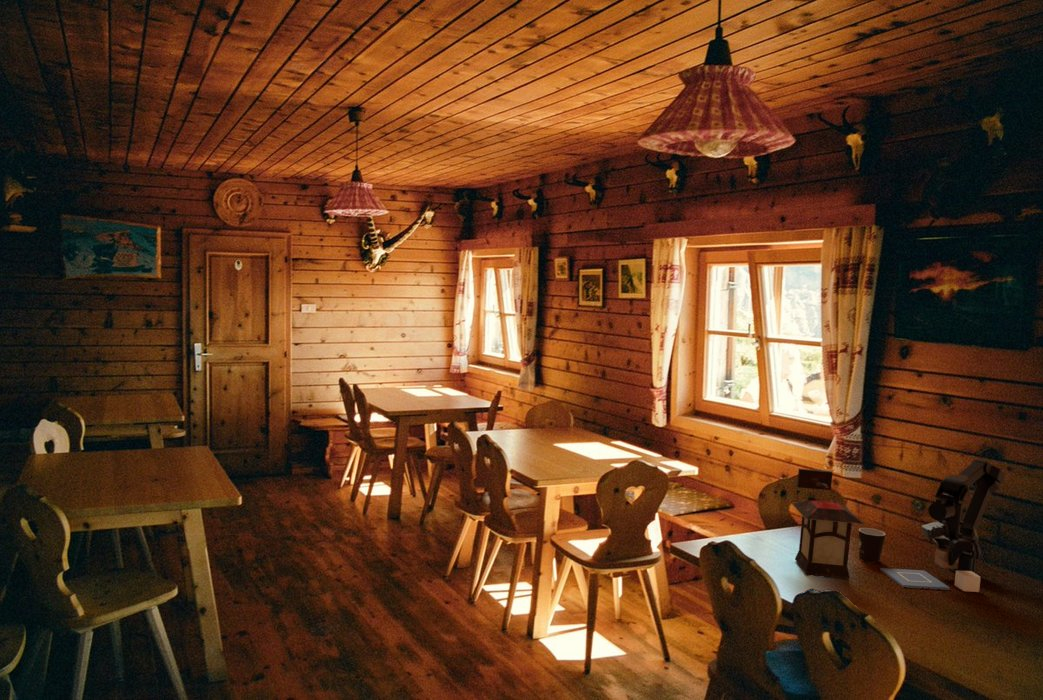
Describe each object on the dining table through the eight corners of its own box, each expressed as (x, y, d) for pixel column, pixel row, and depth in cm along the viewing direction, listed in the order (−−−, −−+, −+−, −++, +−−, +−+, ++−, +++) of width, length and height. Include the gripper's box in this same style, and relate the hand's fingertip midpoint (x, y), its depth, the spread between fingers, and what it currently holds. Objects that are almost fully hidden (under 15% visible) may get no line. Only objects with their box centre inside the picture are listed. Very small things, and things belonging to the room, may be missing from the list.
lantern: (834, 556, 275) (843, 472, 272) (859, 583, 249) (868, 491, 246) (780, 551, 276) (788, 467, 274) (799, 577, 251) (808, 485, 248)
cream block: (969, 586, 253) (971, 571, 253) (978, 592, 248) (980, 576, 248) (954, 585, 253) (956, 570, 253) (963, 591, 248) (965, 576, 248)
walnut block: (948, 563, 262) (950, 548, 261) (957, 568, 257) (959, 554, 256) (934, 562, 262) (935, 548, 261) (942, 567, 257) (944, 553, 256)
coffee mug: (879, 566, 267) (882, 537, 266) (852, 559, 272) (855, 531, 271) (887, 558, 276) (890, 530, 275) (861, 551, 281) (864, 524, 281)
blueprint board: (924, 572, 263) (924, 570, 263) (949, 590, 248) (949, 587, 248) (880, 570, 263) (880, 567, 263) (902, 587, 248) (903, 584, 248)
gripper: (912, 507, 267) (907, 551, 268) (943, 523, 248) (937, 571, 250) (944, 509, 267) (939, 553, 269) (977, 525, 249) (972, 573, 250)
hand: (946, 562), depth 259 cm, fingers closed on walnut block, 5 cm apart
